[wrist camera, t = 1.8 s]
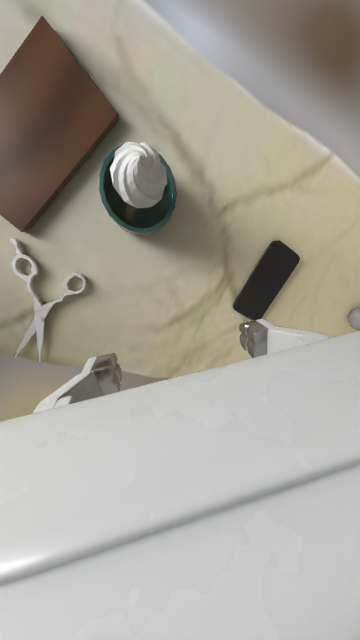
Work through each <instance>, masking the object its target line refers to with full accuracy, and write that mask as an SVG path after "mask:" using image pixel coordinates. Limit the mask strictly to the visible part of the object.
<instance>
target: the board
mask: <svg viewBox="0 0 360 640" xmlns="http://www.w3.org/2000/svg"><path fill="white" fill-rule="evenodd" d="M118 120H119V119H118V114H117V112H116V111H115V110H114V109H113V107H112V106H111V105H110V103H109V102H108V101H107V99H106V98H105V97H104V95H103V94H102V93H101V92H100V90H99V89H98V88H97V86H96V85H95V84H94V82H93V81H92V80H91V78H90V77H89V76H88V75H87V73H86V72H85V71H84V69H83V68H82V67H81V65H80V64H79V63H78V61H77V60H76V59H75V58H74V56H73V55H72V54H71V52H70V51H69V50H68V48H67V47H66V46H65V44H64V43H63V42H62V41H61V39H60V38H59V37H58V35H57V34H56V33H55V31H54V30H53V29H52V27H51V26H50V25H49V24H48V22H47V21H46V20H45V18H44V17H43V16H42V17H41V18H40V19H39V21H38V22H37V24H36V25H35V26H34V28H33V29H32V31H31V32H30V33H29V35H28V36H27V38H26V39H25V40H24V42H23V43H22V45H21V46H20V47H19V49H18V50H17V52H16V53H15V55H14V56H13V57H12V59H11V60H10V62H9V63H8V64H7V66H6V67H5V69H4V70H3V71H2V73H1V74H0V215H1V216H2V217H4V218H5V219H6V220H7V221H9V222H10V223H11V224H12V225H14V226H15V227H16V228H17V229H19V230H20V231H21V232H27V231H28V230H29V229H30V228H31V226H32V225H33V224H34V223H35V221H36V220H37V219H38V218H39V217H40V215H41V214H42V213H43V212H44V210H45V209H46V208H47V207H48V206H49V204H50V203H51V202H52V201H53V200H54V198H55V197H56V196H57V195H58V193H59V192H60V191H61V190H62V189H63V187H64V186H65V185H66V184H67V182H68V181H69V180H70V179H71V178H72V176H73V175H74V174H75V173H76V171H77V170H78V169H79V168H80V167H81V165H82V164H83V163H84V162H85V161H86V159H87V158H88V157H89V156H90V154H91V153H92V152H93V151H94V150H95V148H96V147H97V146H98V145H99V143H100V142H101V141H102V140H103V139H104V137H105V136H106V135H107V134H108V133H109V131H110V130H111V129H112V128H113V126H114V125H115V124H116V123H117V122H118Z"/></svg>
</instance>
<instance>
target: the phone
mask: <svg viewBox="0 0 360 640" xmlns="http://www.w3.org/2000/svg"><path fill="white" fill-rule="evenodd" d="M299 259H300V258H299V256H298V254H296V253H295V252H294V251H293V250H291V249H290V248H289V247H287V246H286V245H285V244H284V243H282V242H281V241H273V242H272V243H271V244H270V246H269V247H268V249H267V251H266V252H265V254H264V255H263V257H262V259H261V260H260V262H259V264H258V265H257V267H256V268H255V270H254V272H253V273H252V275H251V276H250V278H249V280H248V281H247V283H246V285H245V286H244V288H243V289H242V291H241V293H240V294H239V296H238V297H237V299H236V301H235V302H234V305H233V308H234V310H236V311H237V312H239V313H241V314H243V315H245V316H247V317H249V318H250V319H252V320H258V319H261V318H262V316H263V315H264V313H265V312H266V310H267V309H268V307H269V306H270V304H271V303H272V301H273V300H274V298H275V297H276V295H277V294H278V292H279V291H280V290H281V288H282V287H283V285H284V284H285V282H286V281H287V279H288V278H289V276H290V275H291V273H292V272H293V270H294V269H295V267H296V266H297V264H298V262H299Z"/></svg>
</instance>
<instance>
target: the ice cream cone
mask: <svg viewBox="0 0 360 640" xmlns="http://www.w3.org/2000/svg"><path fill="white" fill-rule="evenodd" d="M110 172H111V178H112V183H113V186H114V188H115V189H116V191H117V192H118V193H119V195H120V196H121V197H122V199H123V201H124V202H126V203H128V204H130V205H131V206H134V207H135V208H148V207H152V206H153V205H155V204H156V203H157V202H158V201H160V200H161V199H162V195H163V191H164V187H165V186H166V185H167V175H166V167H165V166H164V165H163V164H162V163H161V162H160V158H159V155H158V153H157V151H156V150H154V149H153V148H151V147H150V146H148V145H147V144H145V143H144V142H142V143H139V144H138V143H136V142H126V143H125V144H123V145H122V146H121V147H120V148H119V149H117V150H116V151H115V157H114V161H113V163H112V165H111V167H110Z"/></svg>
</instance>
